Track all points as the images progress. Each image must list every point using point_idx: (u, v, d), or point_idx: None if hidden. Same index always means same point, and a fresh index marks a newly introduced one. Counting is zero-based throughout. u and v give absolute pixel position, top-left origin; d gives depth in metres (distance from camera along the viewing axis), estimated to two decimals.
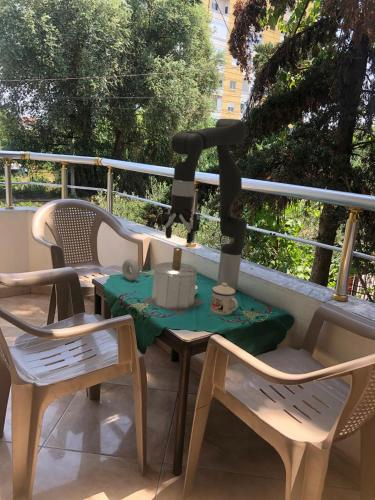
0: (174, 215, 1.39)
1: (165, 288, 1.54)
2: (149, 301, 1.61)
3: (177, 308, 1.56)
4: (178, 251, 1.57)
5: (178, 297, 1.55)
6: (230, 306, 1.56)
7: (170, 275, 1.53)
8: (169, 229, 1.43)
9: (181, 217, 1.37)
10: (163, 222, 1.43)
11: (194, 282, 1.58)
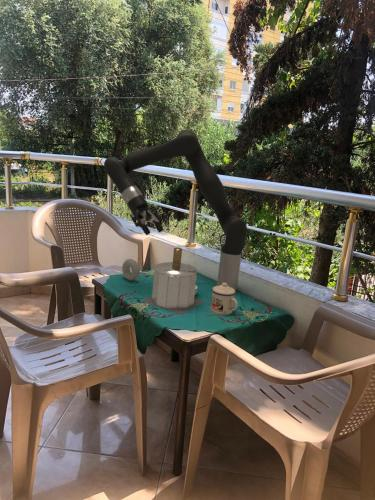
0: None
1: (165, 288, 1.54)
2: (149, 301, 1.61)
3: (177, 308, 1.56)
4: (178, 251, 1.57)
5: (178, 297, 1.55)
6: (230, 306, 1.56)
7: (170, 275, 1.53)
8: (156, 225, 1.67)
9: None
10: None
11: (194, 282, 1.58)
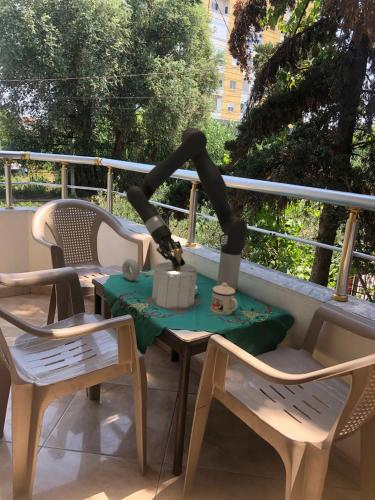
0: None
1: (165, 288, 1.54)
2: (149, 301, 1.61)
3: (177, 308, 1.56)
4: (178, 251, 1.57)
5: (178, 297, 1.55)
6: (230, 306, 1.56)
7: (170, 275, 1.53)
8: None
9: None
10: None
11: (194, 282, 1.58)
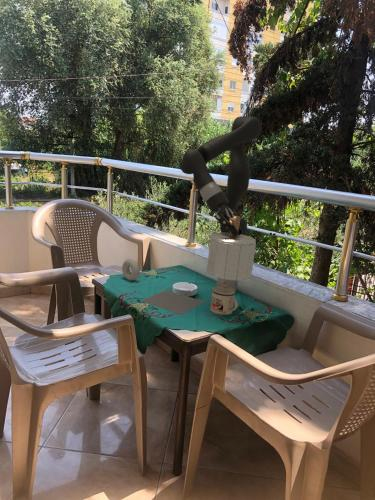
0: None
1: (224, 257, 1.46)
2: (149, 301, 1.61)
3: (236, 279, 1.47)
4: (237, 219, 1.48)
5: (238, 267, 1.46)
6: (230, 306, 1.56)
7: (230, 243, 1.44)
8: None
9: None
10: None
11: (253, 252, 1.49)
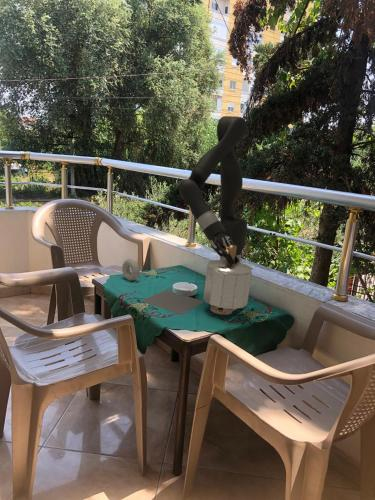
0: None
1: (220, 286, 1.48)
2: (149, 301, 1.61)
3: (232, 307, 1.50)
4: (233, 248, 1.51)
5: (234, 296, 1.48)
6: None
7: (226, 273, 1.46)
8: None
9: None
10: None
11: (249, 280, 1.52)
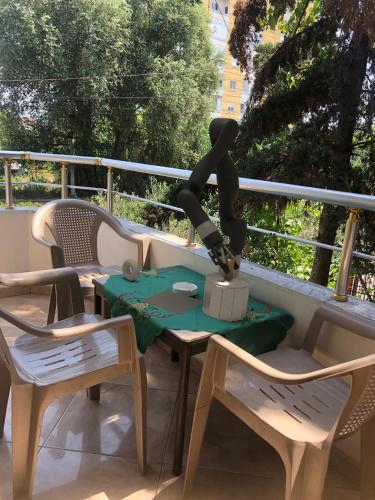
0: None
1: (218, 300, 1.50)
2: (149, 301, 1.61)
3: (230, 320, 1.51)
4: (231, 261, 1.52)
5: (232, 309, 1.50)
6: None
7: (224, 286, 1.48)
8: None
9: None
10: (229, 257, 1.60)
11: (247, 293, 1.53)
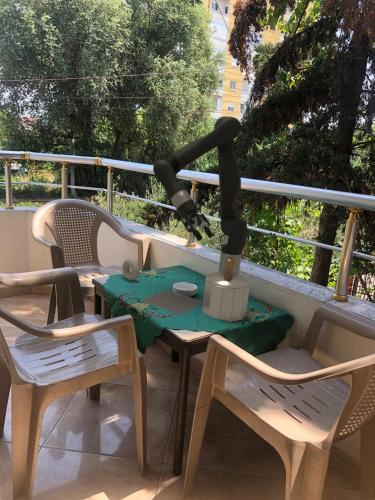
0: None
1: (218, 300, 1.50)
2: (149, 301, 1.61)
3: (230, 320, 1.51)
4: (231, 261, 1.52)
5: (232, 309, 1.50)
6: None
7: (224, 286, 1.48)
8: (206, 230, 1.62)
9: None
10: (204, 226, 1.65)
11: (247, 293, 1.53)
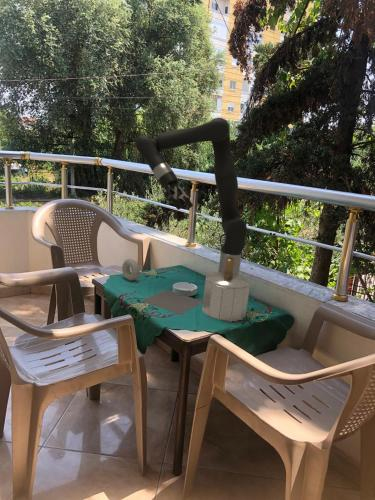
0: None
1: (218, 300, 1.50)
2: (149, 301, 1.61)
3: (230, 320, 1.51)
4: (231, 261, 1.52)
5: (232, 309, 1.50)
6: None
7: (224, 286, 1.48)
8: (186, 201, 1.72)
9: None
10: (185, 198, 1.74)
11: (247, 293, 1.53)
